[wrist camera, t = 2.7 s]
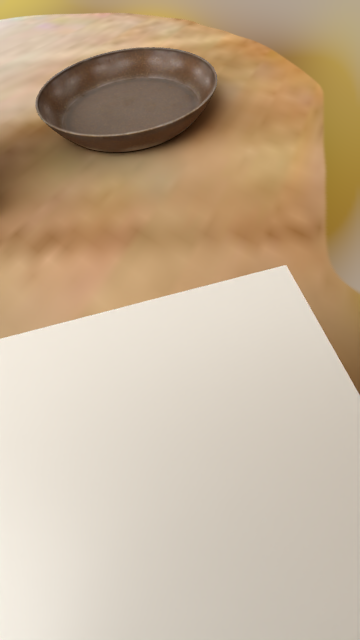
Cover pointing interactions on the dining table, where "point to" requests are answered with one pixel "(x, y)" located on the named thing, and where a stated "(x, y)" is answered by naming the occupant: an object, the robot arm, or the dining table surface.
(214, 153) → the dining table surface
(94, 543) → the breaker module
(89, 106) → the plant saucer
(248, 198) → the dining table surface
